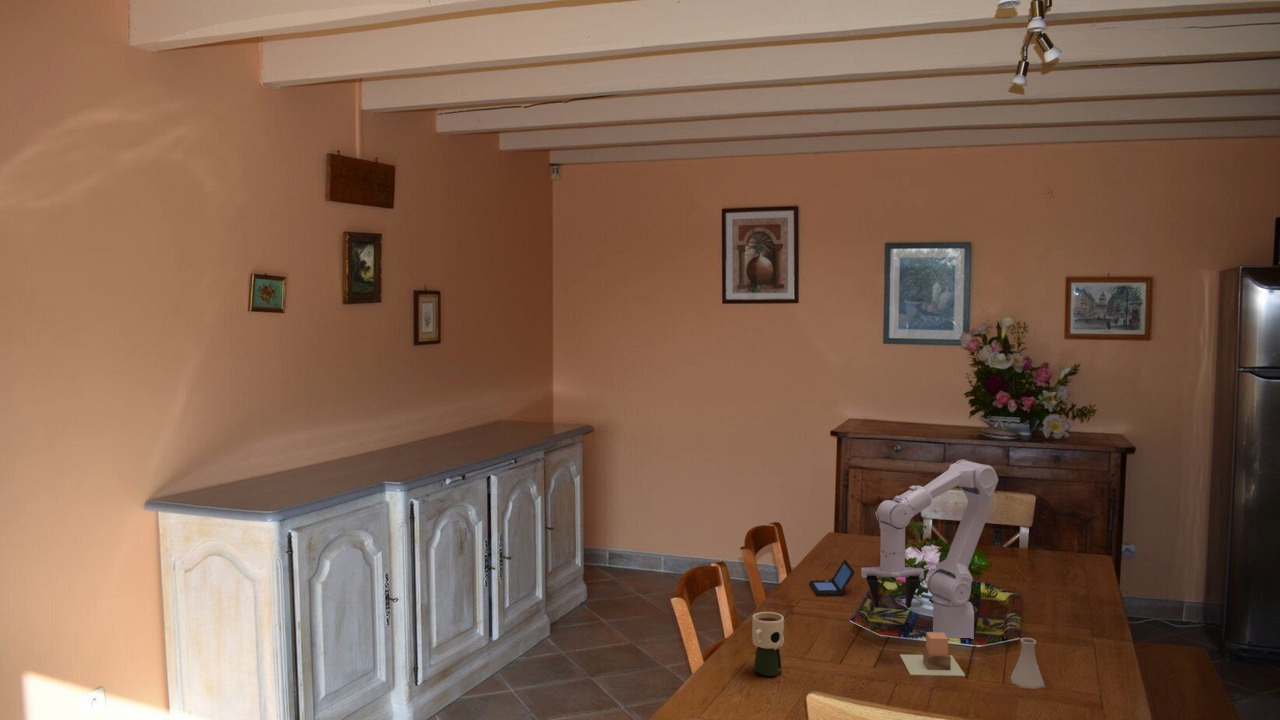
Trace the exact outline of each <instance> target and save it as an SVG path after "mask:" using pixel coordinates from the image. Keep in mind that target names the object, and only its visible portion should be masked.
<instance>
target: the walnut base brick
mask: <svg viewBox="0 0 1280 720" xmlns="http://www.w3.org/2000/svg"><path fill="white" fill-rule="evenodd" d="M922 655H923V662H924V664H925V665H926V667H927V669H928V670H951V657H950V654H949V653H948V656H930V655H929V654H928V652H927V650H926V648H922Z"/></svg>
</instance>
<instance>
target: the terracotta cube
mask: <svg viewBox="0 0 1280 720" xmlns="http://www.w3.org/2000/svg"><path fill="white" fill-rule="evenodd" d="M925 649H926V650H927V652H928V654H929V655H930V656H948V654H949V640H948V638H947V636H946V635H945V633H936V632H929V631H926V632H925Z"/></svg>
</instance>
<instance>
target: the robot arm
mask: <svg viewBox="0 0 1280 720" xmlns="http://www.w3.org/2000/svg"><path fill="white" fill-rule="evenodd" d="M998 483H999V477H998V474H997V472H996V470H995V468H994V467H993V466H991V465H989V464H983V463H979V462H978V463H977V462H973V461H969V460H967V459H964V458H963V459H959V460H956V462H955V463H951V464H950V465H949V468H948V469H947V470H946V471H945V472H943V473H942V474H940V475H939V476H937V477H936V478H934V479H932V480H931V481H930V482H928V483H927V484H926V485H924V486H921V485H910V486H909V489H908V490H907V491H905V492H903V493H902V494H900V495H896V496H894V498H893V499H892V500H889V499H887V500H883V501H882V502H880V504H879V505H878V507H877V510H876V511H875V512H874V513H875V518H876V520H877V521H878V523H879V524H878V525H879V528H880V550H879V552H880V555H879V557H880V558H879V559H880V562H879V563H880V564H879V566H870V567H860V570H861V571H860V572H861V573H860V575H861V577H862V578H863V579H865V580H866V581H867V584H868V587H869V590H870V592H871V597H872V602H873V603H872V604H873V607H874V608H875V609H876V608H879V586H880V585H879V584H880V582H879V579H878V578H905V591H906V592H905V606H906V608H907V609H911V605H912V602H913V598H914V596H915V593H916V591H917V589H918V588H919V586H920V583H921V580H920V579H924V578H925V570H924V569H923V568H922V567H910V566H909V567H908V566H906V527H907V526H908V525H909V524H910V522H911V520H912V518H913V517H915V515H918V514H920V513H921V512H922V511H924V510H925V509H927V508H929V507H930V506H931V505H932V500H933V499H935V498H937V497H938V496H941V495H942V494H944V493H947V492H948V491H951V490H952V489H954V488H956V487H959V489H960V490H961V491H962V492H963V494H964V495H965V497H966V500H967V503H966V505H965V509H964V512H963V514H962V517H961V520H960V522H959V524H958V527H957V529H956V530H957V531H956V532H955V534H954V538H953V540H952V542H951V545H950V548H949V550H948V552H947V555H946V558H945V559H944V560H942V561H940V562H939V563H936V565H935V568H934V570H933V571H932V572H931V573H930V574H929V576H928V577H927V582H926V587H927V591H928V592H929V593H930V594H931V599H932V601H933V602H932V607H933V608H932V610H933V611H932V629H933V632H936V633H945V635H946V636H947V638H971V639H974V638H975V637H974V635H975V633H974V632H975V611H974V606H973V604H972V601H971V602H970V601H968V600H969V599H970V597H971V594H972V593H971V592H972V583H973V581H974V579H973V575H972V574H971V572H970V570H969V566H970V564H971V561H972V558H973V556H974V554H975V551H976V548H977V545H978V543H979V540H980V537H981V535H982V532H983V531H984V527H985V525H986V522H987V520H988V516H989V513H990V511H991V508H992V505H993V503H994V493H995V491H996V489H997V485H998ZM974 640H975V639H974Z"/></svg>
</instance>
